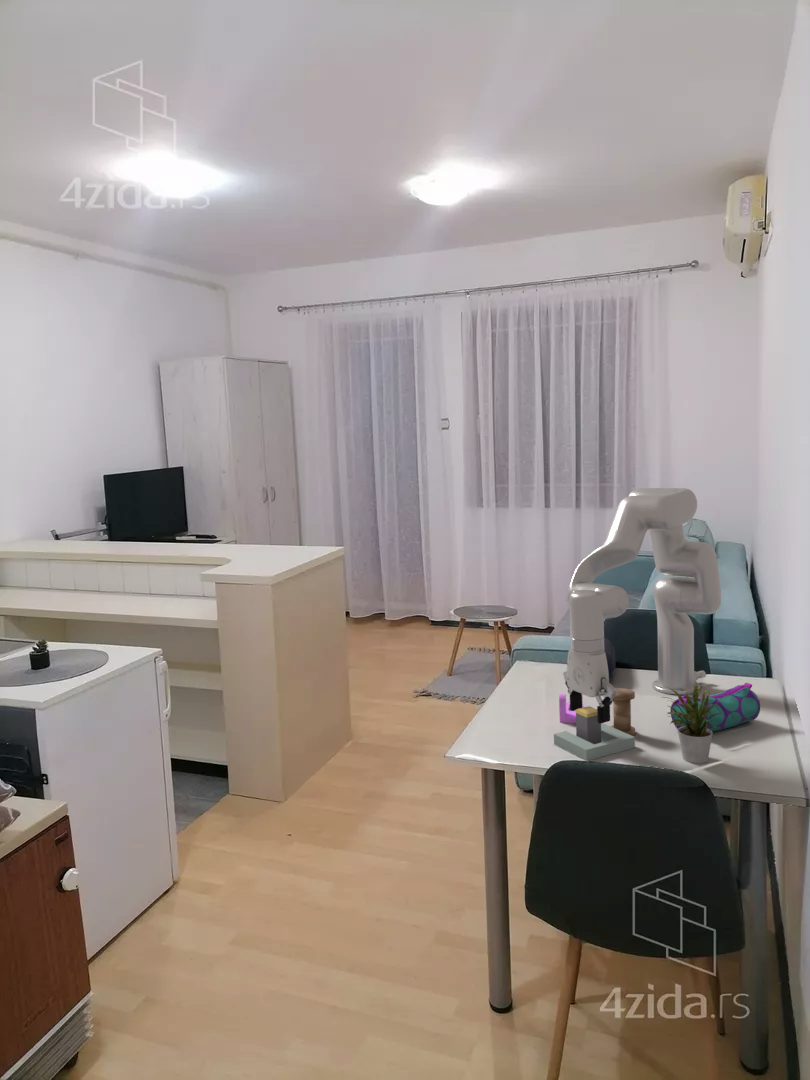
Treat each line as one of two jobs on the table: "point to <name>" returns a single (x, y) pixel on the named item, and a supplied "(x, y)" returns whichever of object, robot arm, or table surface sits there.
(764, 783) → the table surface
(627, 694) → the bobbin
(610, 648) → the portable speaker
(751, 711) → the pencil case
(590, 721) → the yellow and grey block
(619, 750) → the notched board
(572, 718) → the bracket
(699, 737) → the house plant
